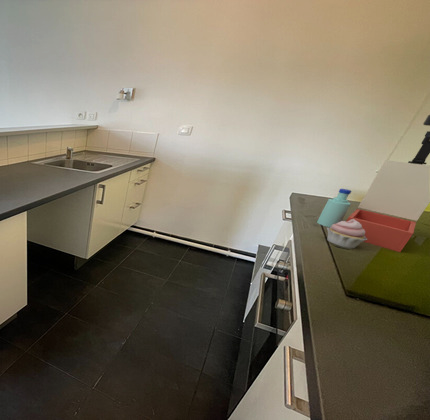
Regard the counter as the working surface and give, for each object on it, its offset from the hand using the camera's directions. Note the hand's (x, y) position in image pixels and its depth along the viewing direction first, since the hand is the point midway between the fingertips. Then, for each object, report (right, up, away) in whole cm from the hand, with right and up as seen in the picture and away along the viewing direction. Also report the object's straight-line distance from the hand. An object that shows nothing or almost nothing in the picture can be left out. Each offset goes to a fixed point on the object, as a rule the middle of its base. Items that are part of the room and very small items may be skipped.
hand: (405, 180), depth 92 cm
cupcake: (-35, -23, -8) cm, 43 cm away
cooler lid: (-8, -4, -4) cm, 9 cm away
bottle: (-23, -18, +7) cm, 30 cm away
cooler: (-16, -22, -2) cm, 27 cm away
